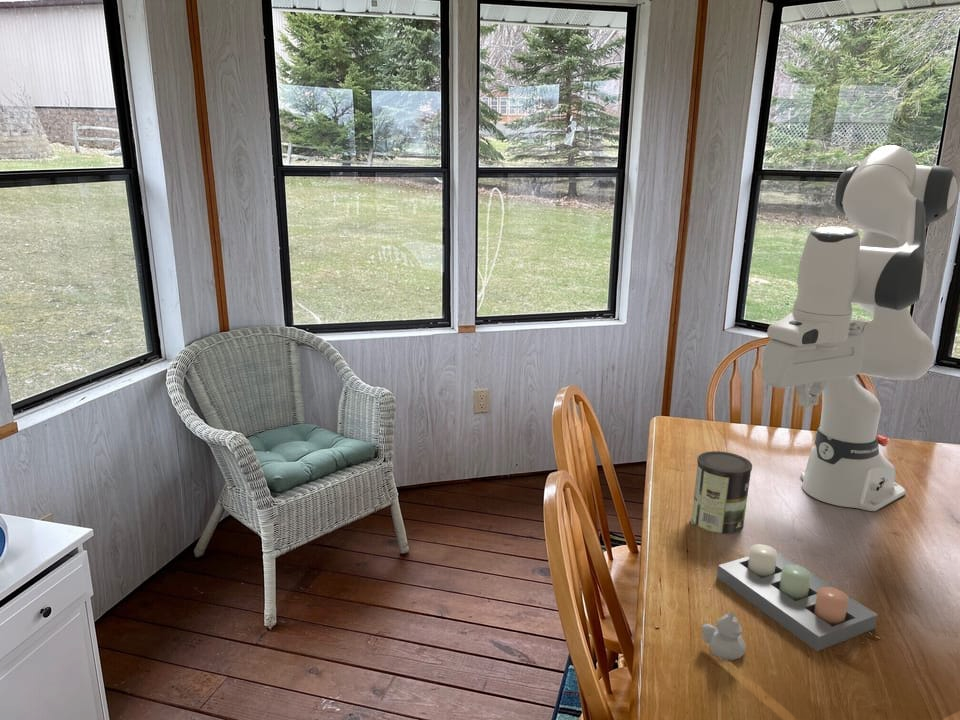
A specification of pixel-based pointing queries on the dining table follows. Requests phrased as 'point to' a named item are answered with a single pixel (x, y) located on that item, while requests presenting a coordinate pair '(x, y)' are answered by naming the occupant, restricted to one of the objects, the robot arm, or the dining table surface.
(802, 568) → the sage button
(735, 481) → the coffee can
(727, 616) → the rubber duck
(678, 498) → the dining table surface
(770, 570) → the ivory button
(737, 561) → the grey rectangular tray
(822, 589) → the terracotta button
